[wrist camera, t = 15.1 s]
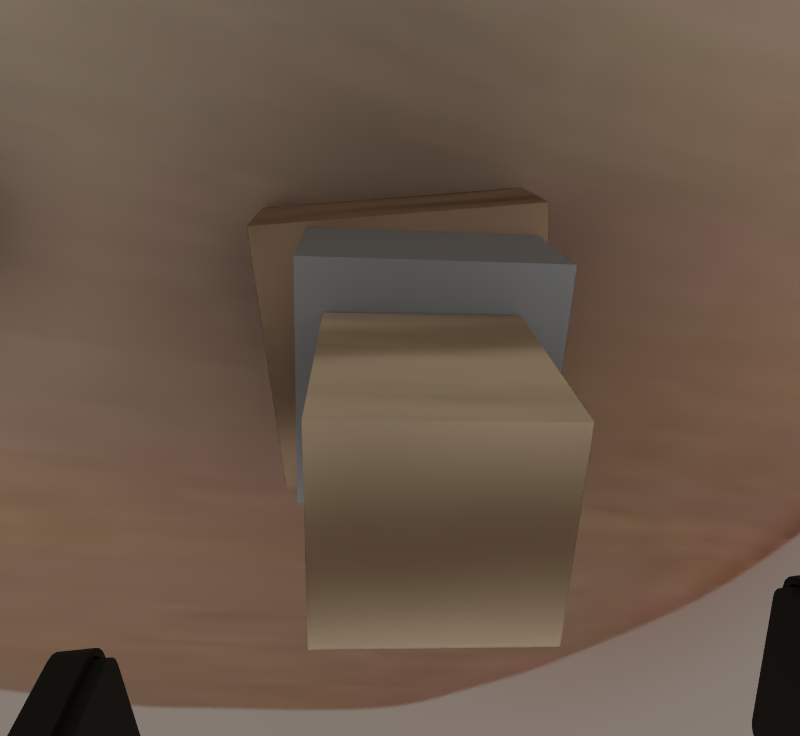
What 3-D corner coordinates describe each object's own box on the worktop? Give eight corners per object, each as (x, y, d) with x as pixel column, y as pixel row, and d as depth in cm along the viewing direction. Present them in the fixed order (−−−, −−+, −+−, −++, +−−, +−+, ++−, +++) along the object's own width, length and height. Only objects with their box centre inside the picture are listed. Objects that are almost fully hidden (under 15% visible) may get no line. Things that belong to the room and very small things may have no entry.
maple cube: (322, 312, 17) (301, 420, 11) (521, 315, 17) (594, 422, 12) (325, 484, 19) (308, 649, 13) (503, 484, 19) (559, 646, 14)
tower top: (306, 227, 20) (293, 255, 16) (538, 235, 21) (577, 264, 17) (307, 437, 23) (297, 503, 19) (514, 440, 23) (543, 505, 19)
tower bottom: (264, 206, 24) (246, 226, 20) (519, 186, 24) (548, 202, 20) (297, 435, 27) (286, 488, 23) (520, 415, 27) (545, 465, 24)
